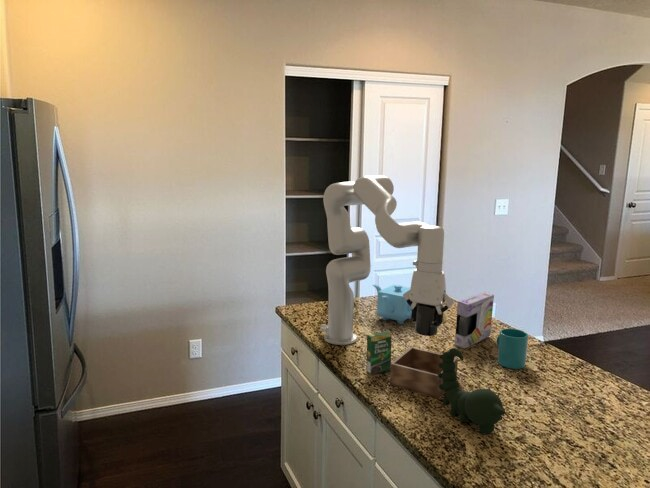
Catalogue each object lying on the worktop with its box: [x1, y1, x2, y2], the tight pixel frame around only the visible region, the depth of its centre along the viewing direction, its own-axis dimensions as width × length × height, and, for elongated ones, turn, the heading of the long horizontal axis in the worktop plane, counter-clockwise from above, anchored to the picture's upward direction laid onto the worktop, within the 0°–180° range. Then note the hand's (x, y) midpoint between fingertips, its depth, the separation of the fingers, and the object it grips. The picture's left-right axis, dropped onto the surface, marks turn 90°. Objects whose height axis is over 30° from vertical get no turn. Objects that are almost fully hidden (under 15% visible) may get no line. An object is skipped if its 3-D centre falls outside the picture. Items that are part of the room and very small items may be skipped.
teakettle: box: [372, 284, 413, 325], centre depth 216 cm, size 19×19×15 cm
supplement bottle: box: [414, 303, 439, 337], centre depth 156 cm, size 7×7×12 cm
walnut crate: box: [389, 346, 459, 399], centre depth 159 cm, size 16×16×7 cm
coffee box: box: [366, 330, 392, 376], centre depth 166 cm, size 8×3×13 cm, turn 115°
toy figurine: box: [438, 347, 506, 435], centre depth 136 cm, size 9×19×25 cm
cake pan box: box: [454, 291, 495, 349], centre depth 192 cm, size 19×5×18 cm, turn 131°
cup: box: [496, 328, 529, 370], centre depth 174 cm, size 9×12×11 cm
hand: (426, 322), depth 156 cm, fingers closed on supplement bottle, 6 cm apart
